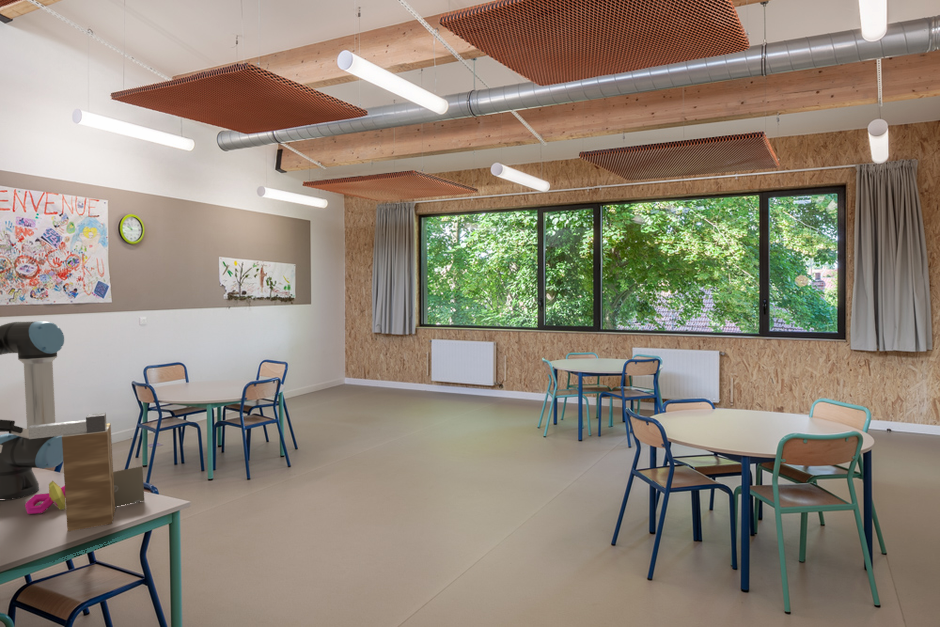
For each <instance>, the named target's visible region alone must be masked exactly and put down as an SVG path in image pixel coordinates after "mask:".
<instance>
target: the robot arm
mask: <svg viewBox="0 0 940 627" xmlns="http://www.w3.org/2000/svg"><path fill="white" fill-rule="evenodd" d="M64 344H65V335H64V333H63V330H62V329H61V328H60V326H58V325H57V324H55V323H54V322H51V321H43V320H42V321H41V320H38V321H12V322H7V323H4V324H1V325H0V356H2V355H6V354H7V355H8V354H17V359H18V360H19V361H20V362H21V363H22V364H23V374H24V375H23V376H24V394H25V395H24V396H25V411H26V412H25V414H26V428H24V427H21V426H18V425H15V423H16V420H10V419H0V432H1V433H4V434H0V499H10V500H13V499H12V498H16V499H20V498H24V497H27V496H30V495H33V494H35V493H37V492H38V491H39V490H40V486H39V484H40V483H39V481H38V480H37V477H36V475H35V474H34V471H33V469H51V468H55V467H57V466H59V465H61V464H63V448H62V436H53V437H45V438H36V439H29V430H28V428H29V427H30V426H33V425H42V424H52V423H56V411H55V410H56V408H55V407H56V406H55V387H54V366H53V365H54V364H53V362H54V361H55V359H57V357H58V352H59V351H61V349H62V348H63V346H64ZM6 432H7V433H6ZM23 496H24V497H23ZM19 497H20V498H19Z"/></svg>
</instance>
